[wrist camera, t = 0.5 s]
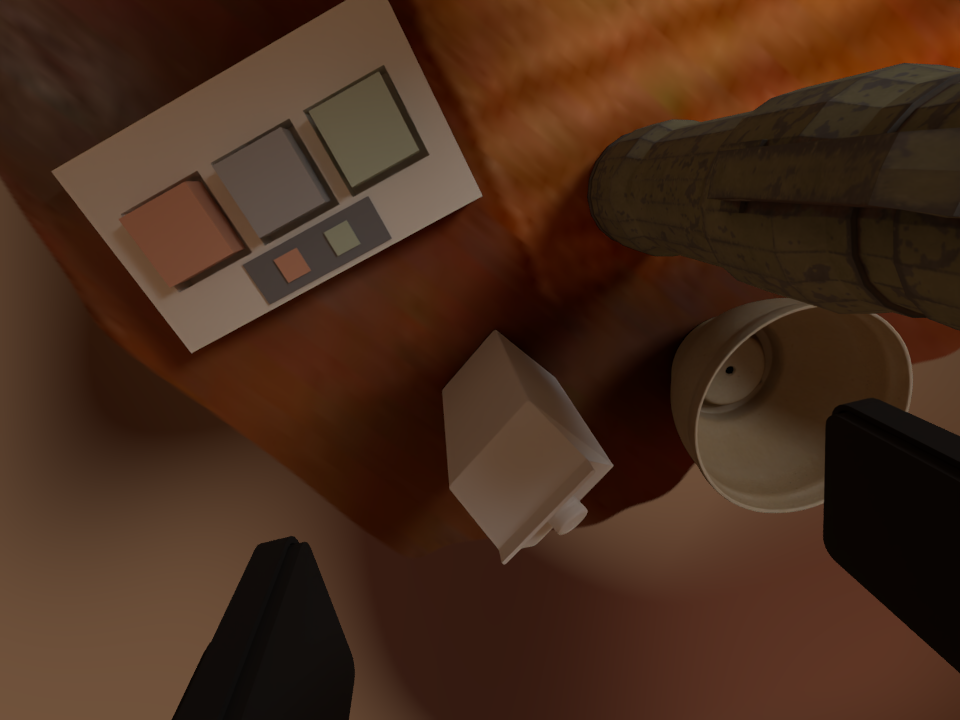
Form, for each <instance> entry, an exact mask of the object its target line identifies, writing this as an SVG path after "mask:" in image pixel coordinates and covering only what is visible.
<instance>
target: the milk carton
mask: <svg viewBox="0 0 960 720" xmlns="http://www.w3.org/2000/svg"><path fill="white" fill-rule="evenodd" d="M442 397H443V410H444V423H445V436H446V449H447V462H448V476H449V489H450V490H451V491H452V493H453V494H454V495H455V496H456V498H457V499H458V500H459V501H460V502H461V504H462V505H463V506H464V507H465V509H466V510H467V511H468V512H469V514H470V515H471V516H472V517H473V518H474V520H475V521H476V522H477V523H478V525H479V526H480V527H481V528H482V530H483V531H484V532H485V533H486V534H487V536H488V537H489V538H490V539H491V541H492V542H493V543H494V544H495V546H496V547H497V548H498V549H499V552H500V557H501V562H502V563H503V564H506V563H507V562H508V561H509V560H510V559H511V558H512V557H513V556H514V555H515V554H516V553H517V552H518V551H519V550H520V549H521V548H524V547H531V546H535V545H536V544H537V543H538V542H539V541H540V540H541V539H542V538H543V537H544V536H545V535H546V534H547V533H548V532H549V531H550V530H551V529H552V528H554V530H555V531H556V532H557V533H558V534H559V535H563V534H566V533H568V532H569V531H571V530H572V529H574V528H575V527H576V526H577V525H578V524H579V523H580V522H581V521H582V520H583V519H584V518H585V516H586V515H587V512H588V511H587V509H586V508H585V507H584V505H583V504H581V502H580V500H581V499H582V498H583V497H584V496H585V495H586V494H587V493H588V492H589V491H590V490H591V489H592V488H593V487H594V486H595V485H596V484H597V483H598V482H599V481H600V480H601V479H602V478H603V477H604V476H605V475H606V473H607V472H608V471H609V470H610V469H611V468H612V467H613V466H614V465H613V464H612V463H611V461H610V460H609V458H608V456H607V455H606V453H605V452H604V450H603V449H602V447H601V446H600V444H599V443H598V441H597V440H596V438H595V437H594V435H593V434H592V432H591V431H590V429H589V428H588V426H587V425H586V423H585V422H584V420H583V419H582V417H581V416H580V414H579V413H578V411H577V410H576V408H575V407H574V405H573V404H572V402H571V400H570V399H569V397H568V396H567V394H566V393H565V391H564V390H563V388H562V387H561V385H560V384H559V382H558V381H557V379H556V378H555V377H554V376H553V375H551V374H550V373H549V372H548V371H546V370H545V369H544V368H543V367H541V366H540V365H539V364H538V363H536V362H535V361H534V360H533V359H531V358H530V357H529V356H528V355H527V354H525V353H524V352H523V351H522V350H520V349H519V348H518V347H517V346H515V345H514V344H513V343H512V342H510V341H509V340H508V339H507V338H505V337H504V336H503V335H502V334H500V333H499V332H498V331H497V330H494V331H493V332H492V333H491V334H490V335H489V336H488V337H487V339H486V340H485V341H484V342H483V343H482V344H481V346H480V347H479V348H478V349H477V350H476V351H475V352H474V354H473V355H472V356H471V357H470V358H469V359H468V361H467V362H466V363H465V364H464V365H463V366H462V368H461V369H460V370H459V371H458V372H457V373H456V374H455V376H454V377H453V378H452V379H451V380H450V381H449V383H448V384H447V385H446V386H445V387H444V389H443V390H442Z"/></svg>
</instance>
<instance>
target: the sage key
mask: <svg viewBox="0 0 960 720" xmlns="http://www.w3.org/2000/svg"><path fill="white" fill-rule="evenodd" d="M309 113H310V115H311V117H312V118H313V120H314V122H315V124H316V125H317V127H318V129H319V131H320V132H321V134H322V136H323V138H324V139H325V141H326V143H327V145H328V146H329V148H330V150H331V152H332V154H333V155H334V157H335V159H336V161H337V162H338V164H339V166H340V168H341V169H342V171H343V173H344V175H345V176H346V178H347V180H348V182H349V183H350V185H351V187H357V186H359V185H361V184H363V183H365V182H366V181H368V180H370V179H372V178H374V177H376V176H377V175H379V174H381V173H383V172H385V171H386V170H388V169H390V168H392V167H394V166H395V165H397V164H399V163H401V162H403V161H405V160H406V159H408V158H410V157H412V156H414V155H415V154H417V153H419V152H420V151H419V149H418V147H417V145H416V143H415V141H414V139H413V137H412V135H411V133H410V131H409V129H408V127H407V125H406V123H405V121H404V119H403V117H402V115H401V113H400V111H399V109H398V107H397V105H396V104H395V102H394V100H393V98H392V96H391V94H390V92H389V90H388V88H387V86H386V84H385V82H384V80H383V78H382V76H381V74H380V72H377V73H375V74H373V75H372V76H370V77H368V78H366V79H364V80H363V81H361V82H359V83H357V84H356V85H354V86H352V87H350V88H349V89H347V90H345V91H343V92H342V93H340V94H338V95H336V96H335V97H333V98H331V99H329V100H327V101H326V102H324V103H322V104H320V105H319V106H317V107H315V108H313V109H312V110H310V111H309Z"/></svg>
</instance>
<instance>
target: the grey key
mask: <svg viewBox="0 0 960 720" xmlns="http://www.w3.org/2000/svg"><path fill="white" fill-rule="evenodd" d="M212 167H213V168H214V170H215V171H216V173H217V174H218V176H219V177H220V179H221V180H222V182H223V184H224V185H225V187H226V188H227V190H228V191H229V193H230V194H231V196H232V197H233V199H234V200H235V202H236V203H237V205H238V206H239V208H240V209H241V211H242V212H243V214H244V215H245V217H246V218H247V220H248V221H249V223H250V225H251V226H252V228H253V229H254V231H255V232H256V234H257V235H258V237H259V238H262V237H265V236H268V235H270V234H272V233H274V232H276V231H278V230H280V229H281V228H283V227H285V226H287V225H289V224H290V223H292V222H294V221H296V220H298V219H299V218H301V217H303V216H305V215H307V214H309V213H310V212H312V211H314V210H316V209H318V208H319V207H321V206H323V205H325V204H327V203H328V202H330V201H332V200H331V199H330V197H329V195H328V193H327V192H326V190H325V188H324V187H323V185H322V183H321V182H320V180H319V178H318V176H317V175H316V173H315V171H314V170H313V168H312V166H311V165H310V163H309V161H308V160H307V158H306V156H305V154H304V153H303V151H302V149H301V148H300V146H299V144H298V143H297V141H296V139H295V138H294V136H293V134H292V132H291V131H290V130H287V129H284V128H282V127H280V128H278V129H276V130H275V131H273V132H271V133H269V134H268V135H266V136H264V137H262V138H260V139H259V140H257V141H255V142H253V143H252V144H250V145H248V146H246V147H245V148H243V149H241V150H239V151H238V152H236V153H234V154H232V155H230V156H229V157H227V158H225V159H223V160H222V161H220V162H218V163H216V164H215V165H213V166H212Z"/></svg>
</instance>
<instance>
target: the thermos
mask: <svg viewBox="0 0 960 720" xmlns="http://www.w3.org/2000/svg"><path fill="white" fill-rule="evenodd" d="M587 198H588V202H589V207H590V212H591V215H592V217H593V219H594V221H595V222H596V224H597V226H598V227H599V229H600V230H601V231H602V232H603V233H605V234H606V235H607V236H608V237H609V238H611V239H612V240H615V241H617V242H619V243H621V244H622V245H624V246H626V247H629V248H632V249H635V250H637V251H640V252H643V253H646V254H650V255H653V256H678V255H681V256H685V257H688V258H692V259H695V260H699V261H702V262H706V263H709V264H713V265H716V266H720V267H723V268H724V269H725V270H727V271H728V272H729V273H730V274H731V275H732V276H733V277H734V278H735V279H737V280H738V281H741V282H744V283H746V284H749V285H752V286H754V287H757V288H760V289H763V290H766V291H769V292H772V293H775V294H778V295H782V296H785V297H788V298H791V299H794V300H797V301H800V302H804V303H807V304H810V305H813V306H816V307H819V308H822V309H826V310H829V311H832V312H835V313H838V314H875V313H888V312H894V313H898V314H901V315H905V316H908V317H912V318H928V319H930V320H933V321H936V322H938V323H941V324H943V325H946V326H949V327H951V328H954V329H956V330H960V68H954V67H949V66H943V65H929V64H910V63H902V64H898V65H894V66H890V67H886V68H882V69H878V70H874V71H870V72H866V73H862V74H858V75H854V76H850V77H846V78H842V79H838V80H834V81H830V82H826V83H822V84H818V85H814V86H810V87H806V88H802V89H799V90H796V91H793V92H789V93H786V94H783V95H780V96H777V97H774V98H771V99H769V100H768V101H767V102H765V103H764V104H762V105H761V106H760V107H758V108H757V109H755V110H754V111H751V112H746V113H742V114H737V115H733V116H728V117H723V118H719V119H714V120H710V121H705V122H698V121H694V120H673V119H672V120H668V121H665V122H661V123H657V124H653V125H650V126H647V127H644V128H640V129H637V130H635V131H633V132H632V133H629V134H626V135H623V136H621V137H620V138H618V139H617V140H616V141H614V142H613V143H612V144H610V145H609V146H607V148H606V149H605V150H604V152H603V153H602V154H601V156H600V157H599V158H598V160H597V161H596V163H595V165H594V168H593V170H592V173H591V176H590V178H589V186H588V197H587Z"/></svg>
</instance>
